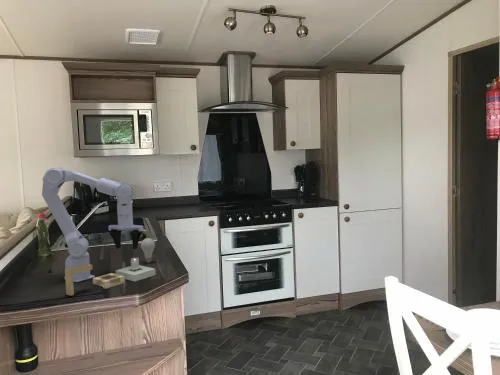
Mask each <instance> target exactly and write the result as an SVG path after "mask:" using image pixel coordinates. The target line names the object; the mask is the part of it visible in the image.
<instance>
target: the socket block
mask: <svg viewBox="0 0 500 375" xmlns="http://www.w3.org/2000/svg"><path fill="white" fill-rule="evenodd" d="M125 280H126V279H124V276H121V275H117V274H116V273H112V272H111V273H107V274H103V275H100V276H95V277H94V278H92V285H93V284H95V285H99V286H102V287H103V288H102V289H109V288H112V287H116V286H118V285H122V284H125V283H126V282H125ZM95 285H94V286H95Z"/></svg>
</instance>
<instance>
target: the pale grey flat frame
mask: <svg viewBox="0 0 500 375" xmlns="http://www.w3.org/2000/svg"><path fill="white" fill-rule="evenodd" d="M156 270H157V269H156V268H153V267H149V266H145V265H140V264H139V271H135V272H133V271H131V265H130V266H126V267H122V268H119V269H116V270H115V271H114V272H115V274H117V275H121V276H124V279H125V280H126V281H131V282H138V281H141V280H144V279H149V278H150V277H154V276H156V275H157V273H156V272H157V271H156Z"/></svg>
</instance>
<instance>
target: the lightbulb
mask: <svg viewBox="0 0 500 375" xmlns="http://www.w3.org/2000/svg"><path fill="white" fill-rule="evenodd" d="M155 247H156V243H155V241H154V239H152V238H150V237H149V238H144V239H143V240H142V241H141V243H140V248H141V249H142V251H143V254H144V258H145V262H146V263H148V264H150V263H151V262H152V260H153V259H152V257H153V252H154V250H155Z"/></svg>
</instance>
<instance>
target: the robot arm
mask: <svg viewBox="0 0 500 375" xmlns="http://www.w3.org/2000/svg"><path fill="white" fill-rule="evenodd" d="M68 182H77V183H81V184H84V185H88V186H92V187H94V188H96V190H97V192H99V193H103V194H106V195H109V196H112V197H115V196H116V199H117V200H116V201H117V204H116V210H117V211H116V213H117V224H110V225H108V231H110V232H109V235H110V237H111V238H112V241H113V243H114V245H115V246H114V247H115V248H116V249H117V250H118V249H120V248H121V247H122V242H121V239H122V231H124V232H125V231H128V232H129V233H130V237H131V240H132V242H131V243H132V244H131V245H132V249H133V250H136V249H138V248H139V246H138V245H139V241H140V238H141V236H142V234H143V232H144V225H141V224H140V225H138V224H134V217H133V202H132V200H133V199H132V194H133V193H132V188H131V187H130V186H129V185H128V184H126V183H123V184H122V182H121V181H118V182H117V181H114V180H111V179H110V177H107V176H106V177H100V178H99V179H98V178H95V177H93V176H90V175H87V174H84V173H82V172H80V171H77V170H76V171H75V170H72V169H67V168H62V167H51V168H49V169H47V170H46V171H45V173H44V175H43V177H42V190H41V196H42V198H43V200H44V202H45V204H46V205H47V207H48V209H49V211H50V212H51V214H52V216H53V218H54V220H55V221H56V223H57V225H58V227H59V228H60V230H61V232H62V234H63V235H64V239H65V243H66V245H67V251H68V252H67V253H68V254H69V255H68V256H67V258H65V262H64V266H65V267H64V270H65V269H69V268H73V267H77V266H81V265H85V264H90V253H89V252H88V249H89V246H90V244H89V241H88V239H87V238H86V237H84V236H83V235H82V233H81V232H80V231H79V230H78V229H77V226H76V225H75V223H74V221H73V220H72V218H71V216H70V214H69V212H68V210H67V209H66V207H65V205H64V203H63V201H62V199H61V197H60V195H59V192H60V190H61V188H62V186H63V184H65V183H68ZM93 278H96V276H95V275H93V274H91V270H88V271H84V272H80V273H77V274H73V283H79V282H82V281H86V280H90V279H93ZM63 279H64V280H65V276H64V277H63Z"/></svg>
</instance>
